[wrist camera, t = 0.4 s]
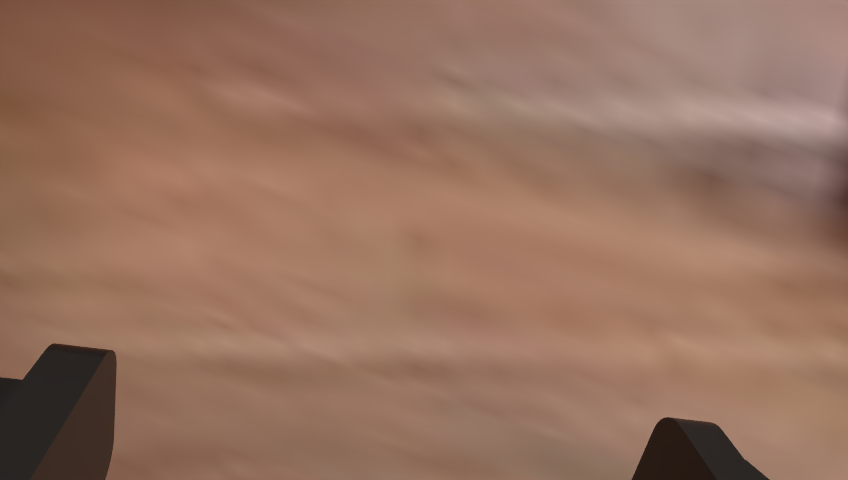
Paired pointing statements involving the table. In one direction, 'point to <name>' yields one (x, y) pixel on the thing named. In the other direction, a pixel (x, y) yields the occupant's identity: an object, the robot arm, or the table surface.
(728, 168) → the table surface
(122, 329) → the table surface
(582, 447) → the table surface
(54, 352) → the robot arm
